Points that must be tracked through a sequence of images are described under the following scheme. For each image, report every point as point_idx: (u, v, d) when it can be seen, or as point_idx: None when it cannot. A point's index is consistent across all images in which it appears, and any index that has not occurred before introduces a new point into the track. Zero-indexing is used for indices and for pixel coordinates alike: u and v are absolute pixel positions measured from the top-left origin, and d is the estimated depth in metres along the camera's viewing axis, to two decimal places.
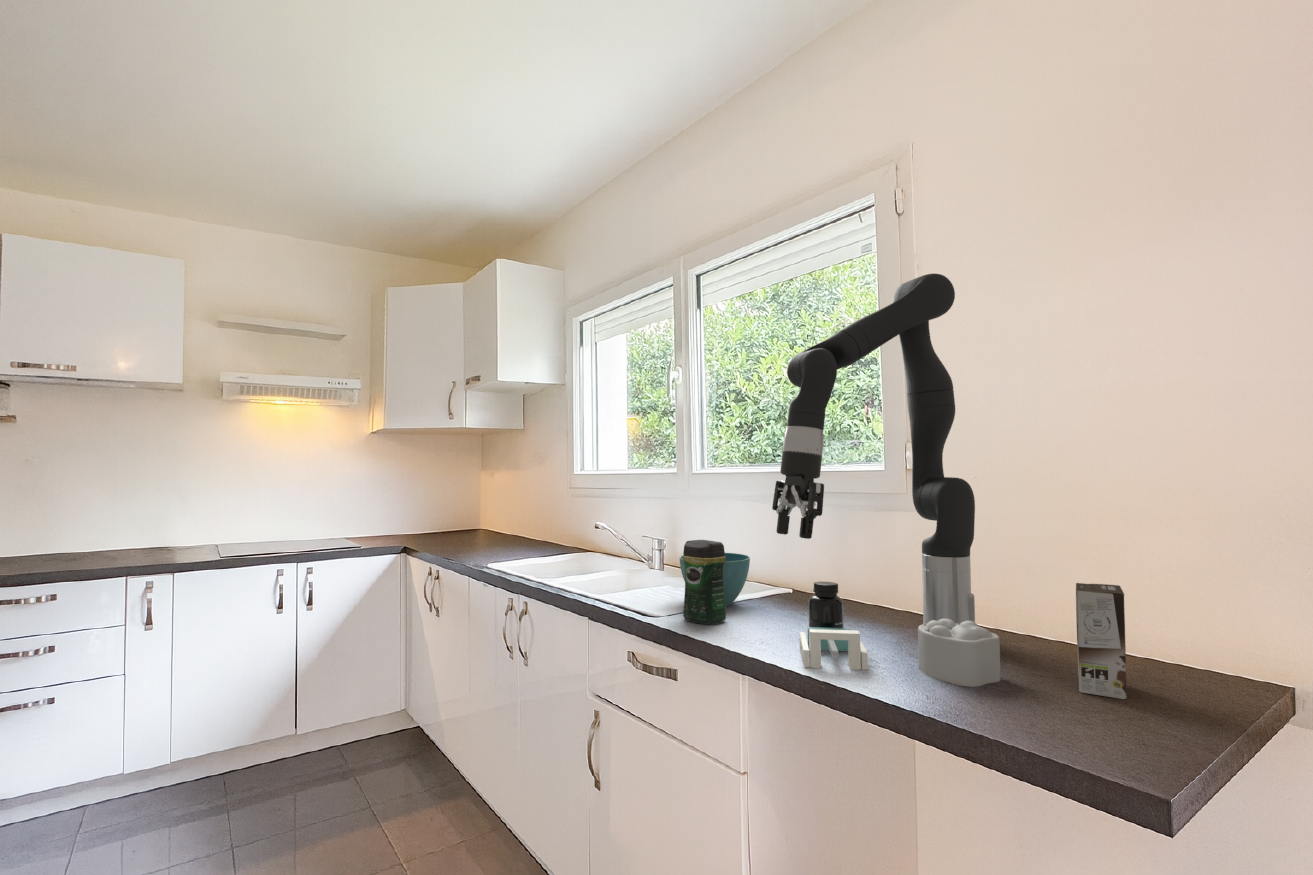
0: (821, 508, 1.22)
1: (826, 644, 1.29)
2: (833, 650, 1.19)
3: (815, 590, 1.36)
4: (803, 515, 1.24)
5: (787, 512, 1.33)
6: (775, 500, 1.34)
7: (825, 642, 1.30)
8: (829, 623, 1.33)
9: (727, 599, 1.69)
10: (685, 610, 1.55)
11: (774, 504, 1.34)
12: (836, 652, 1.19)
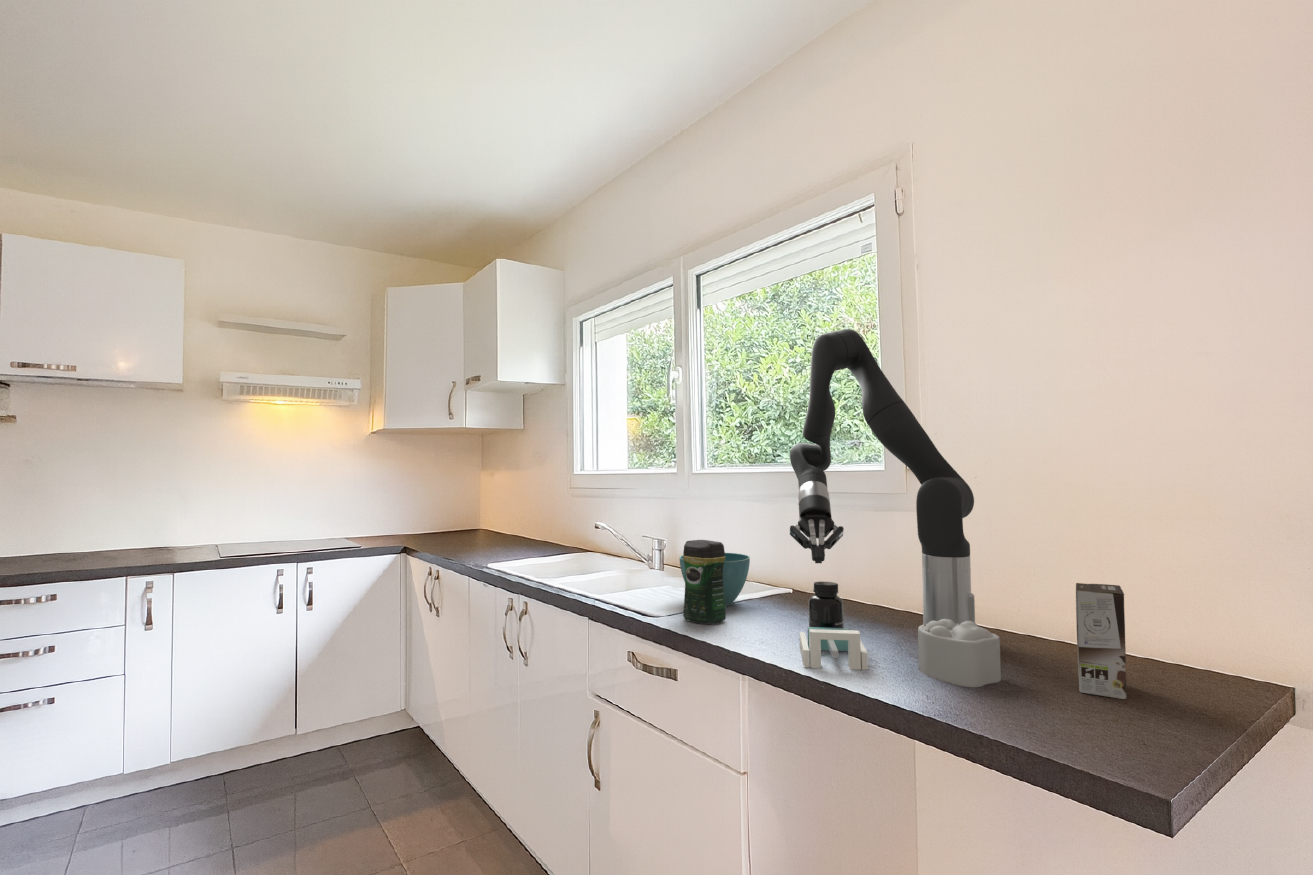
0: (801, 539, 1.56)
1: (826, 644, 1.29)
2: (833, 650, 1.19)
3: (815, 590, 1.36)
4: None
5: None
6: None
7: (825, 642, 1.30)
8: (829, 623, 1.33)
9: (727, 599, 1.69)
10: (685, 610, 1.55)
11: None
12: (836, 652, 1.19)
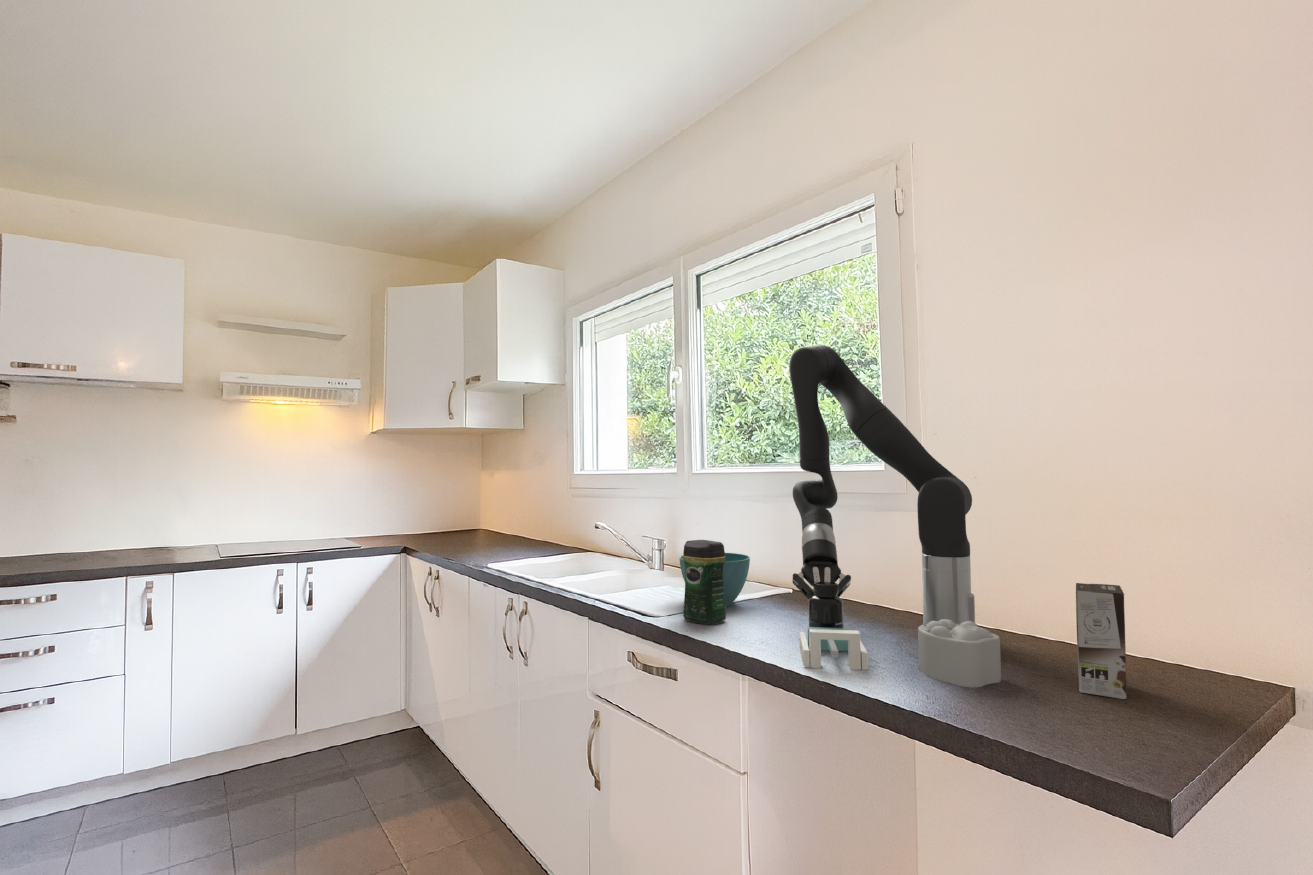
0: (805, 590, 1.43)
1: (826, 644, 1.29)
2: (833, 650, 1.19)
3: (815, 590, 1.35)
4: None
5: None
6: None
7: (825, 642, 1.30)
8: (829, 623, 1.32)
9: (727, 599, 1.69)
10: (685, 610, 1.55)
11: None
12: (836, 652, 1.19)
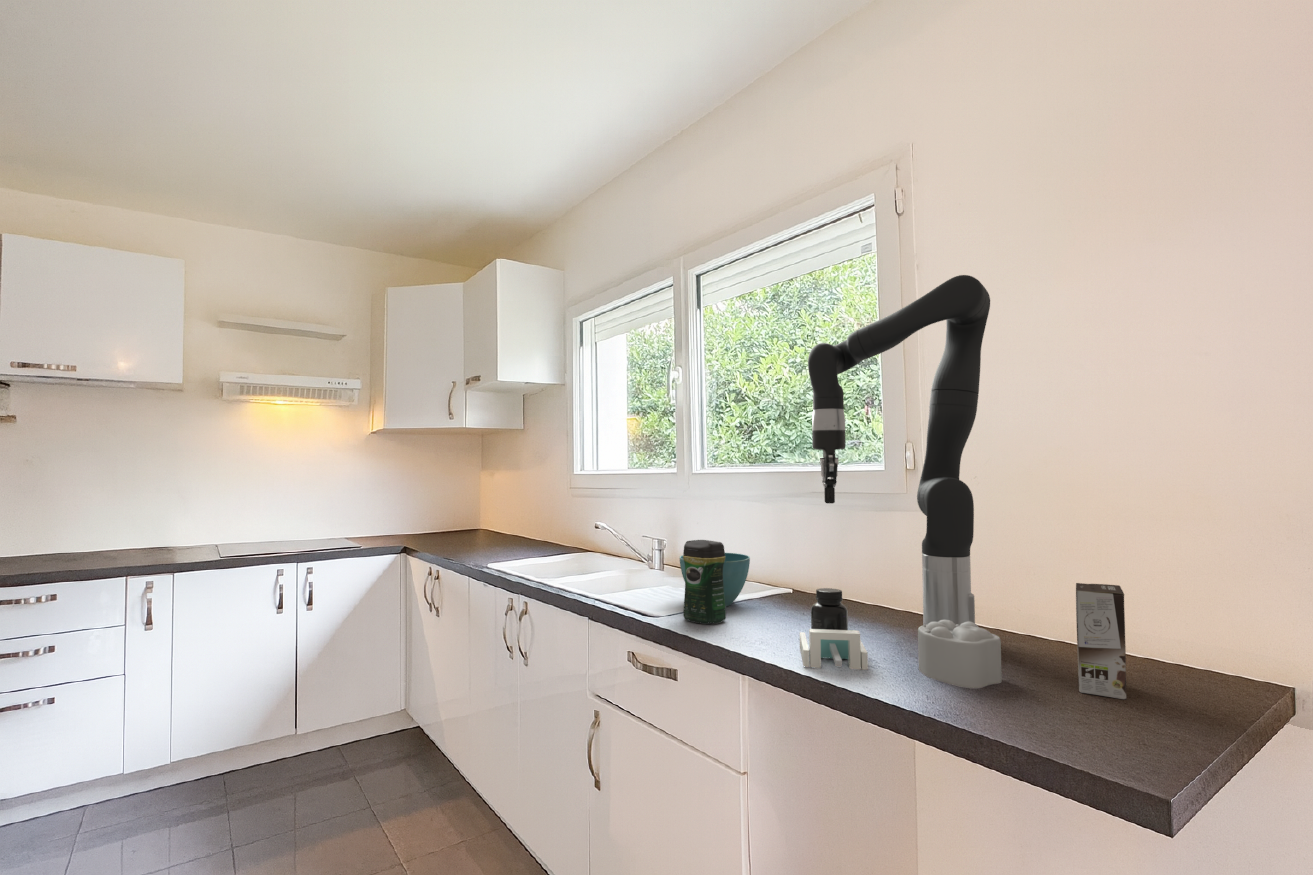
0: (835, 481, 1.54)
1: (829, 652, 1.24)
2: (836, 659, 1.14)
3: (818, 597, 1.28)
4: (824, 485, 1.57)
5: None
6: None
7: (828, 650, 1.24)
8: None
9: (727, 599, 1.69)
10: (685, 610, 1.55)
11: (823, 479, 1.60)
12: (840, 661, 1.13)
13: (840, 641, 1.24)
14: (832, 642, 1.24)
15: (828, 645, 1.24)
